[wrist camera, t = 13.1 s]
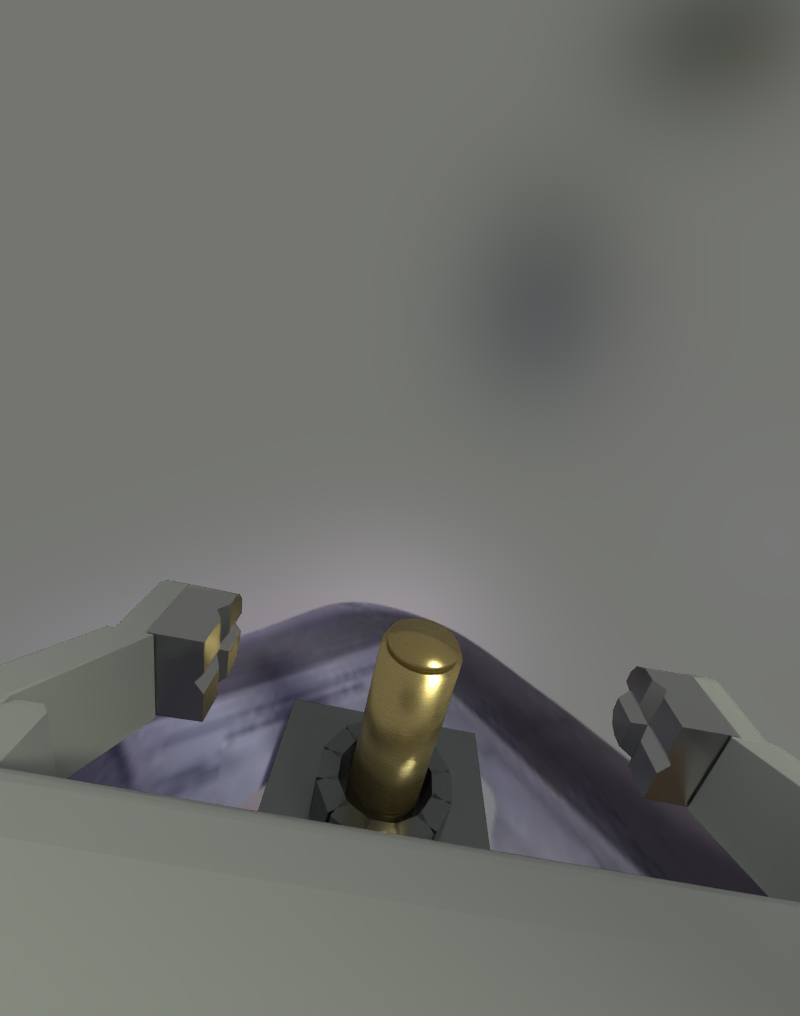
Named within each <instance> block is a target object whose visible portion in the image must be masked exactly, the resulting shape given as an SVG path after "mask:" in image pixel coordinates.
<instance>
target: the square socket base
mask: <svg viewBox="0 0 800 1016" xmlns="http://www.w3.org/2000/svg"><path fill="white" fill-rule="evenodd" d="M363 715H364V712H360V711H355V710H349V709H344V708H339V707H334V706H329V705H323V704H318V703H313V702H308V701H303V700H298V699H295V701H294V704H293V707H292V710H291V713H290V716H289V719H288V722H287V725H286V728H285V731H284V734H283V737H282V740H281V743H280V746H279V749H278V752H277V755H276V758H275V761H274V764H273V767H272V770H271V773H270V776H269V779H268V782H267V785H266V788H265V791H264V794H263V797H262V800H261V803H260V806H259V809H258V811H260V812H266V813H272V814H278V815H284V816H290V817H296V818H302V819H308V820H314V821H320V822H326V823H332V824H338V825H343V826H349V827H355V828H361V829H367V830H373V831H379V832H385V833H391V834H397V835H403V836H409V837H415V838H421V839H427V840H433V841H439V842H445V843H451V844H457V845H463V846H469V847H475V848H481V849H486V850H490V846H489V838H488V831H487V823H486V816H485V808H484V801H483V793H482V786H481V778H480V770H479V763H478V755H477V748H476V740H475V734H474V733H469V732H464V731H458V730H453V729H448V728H443V727H441V729H440V733H439V736H438V739H437V742H436V745H435V748H434V751H433V754H432V757H431V760H430V763H429V766H428V769H427V772H426V775H425V778H424V781H423V785H422V788H421V791H420V794H419V797H418V800H417V803H416V806H415V809H414V812H413V815H412V818H410V819H407V820H405V821H402V822H400V823H397V824H394V823H389V822H383V821H378V820H372V819H368V818H367V817H366V816H365V815H363V814H362V813H361V812H360V811H359V810H357V809H356V808H355V807H354V806H352V805H351V804H350V803H349V802H347V800H346V797H345V795H344V794H345V790H346V786H347V782H348V778H349V774H350V769H351V765H352V761H353V757H354V753H355V749H356V744H357V740H358V736H359V732H360V728H361V724H362V719H363Z"/></svg>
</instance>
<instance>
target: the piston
mask: <svg viewBox="0 0 800 1016" xmlns="http://www.w3.org/2000/svg"><path fill="white" fill-rule="evenodd" d="M462 661H463V657H462V653H461V650H460V645H459V642H458V640H457V639H456V637H455V636H454V635H453V634H452V633H451V632H450V631H449V630H448V629H446V628H445V627H443V626H442V625H440V624H438V623H435V622H433V621H430V620H426V619H421V618H406V619H402V620H399V621H397V622H395V623H394V624H393V625H392V626H391V627H390V628H389V629H388V630H387V631H386V632H385V633H384V634H383V637H382V640H381V644H380V649H379V653H378V657H377V661H376V665H375V669H374V674H373V678H372V682H371V686H370V690H369V694H368V699H367V703H366V707H365V711H364V715H363V719H362V724H361V728H360V732H359V736H358V740H357V744H356V749H355V753H354V757H353V761H352V765H351V769H350V774H349V778H348V782H347V786H346V790H345V794H344V795H345V797H346V800H347V802H349V803H350V804H351V805H352V806H354V807H355V808H356V809H357V810H359V811H360V812H361V813H362V814H363V815H365V816H366V817H367V818H368V819H372V820H378V821H383V822H389V823H394V824H397V823H400V822H402V821H405V820H407V819H410V818H412V815H413V812H414V809H415V806H416V803H417V800H418V797H419V794H420V791H421V788H422V785H423V781H424V778H425V775H426V772H427V769H428V766H429V763H430V760H431V757H432V754H433V751H434V748H435V745H436V742H437V739H438V736H439V733H440V729H441V726H442V723H443V720H444V717H445V714H446V711H447V708H448V705H449V702H450V699H451V696H452V693H453V690H454V687H455V684H456V681H457V677H458V674H459V671H460V668H461V665H462Z"/></svg>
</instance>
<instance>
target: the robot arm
mask: <svg viewBox="0 0 800 1016" xmlns="http://www.w3.org/2000/svg"><path fill="white" fill-rule="evenodd" d="M241 613H242V598H241V596H240V594H236V593H231V592H226V591H221V590H216V589H211V588H206V587H201V586H196V585H190V584H186V583H180V582H175V581H169V580H166V581H162V582H160V583H159V584H158V585H157V586H156V587H155V588H154V589H153V590H152V591H151V592H150V593H149V594H148V595H147V596H146V597H145V598H144V599H143V600H142V601H141V602H140V603H139V604H138V605H137V606H136V607H135V608H134V609H133V610H132V611H131V612H130V613H129V614H128V615H127V616H126V617H125V618H124V619H123V620H122V621H121V622H120V623H119V624H118V625H117V626H116V627H115V628H114V627H108V626H106V627H103V628H101V629H98V630H95V631H92V632H90V633H87V634H84V635H81V636H79V637H76V638H73V639H70V640H68V641H65V642H62V643H59V644H57V645H54V646H51V647H49V648H45V649H43V650H40V651H37V652H35V653H32V654H29V655H26V656H23V657H21V658H18V659H15V660H12V661H10V662H7V663H4V664H2V665H0V1016H800V761H799V760H797V759H796V758H794V757H793V756H792V755H790V754H788V753H787V752H785V751H784V750H783V749H781V748H780V747H778V746H777V745H775V744H770V743H767V742H766V741H765V739H764V738H763V737H762V736H761V734H760V733H759V732H758V731H757V730H756V728H755V727H754V726H753V725H752V724H751V722H750V721H749V720H748V718H747V717H746V716H745V715H744V714H743V712H742V711H741V710H740V709H739V707H738V706H737V705H736V704H735V702H734V701H733V700H732V699H731V698H730V697H729V695H728V694H727V693H726V691H725V690H724V689H723V688H722V687H721V685H720V684H719V683H718V682H717V681H715V680H713V679H711V678H710V677H703V676H696V675H690V674H678V673H673V672H667V671H661V670H655V669H649V668H644V667H638V666H637V667H636V668H635V669H633V670H632V671H631V673H630V675H629V677H628V679H627V685H628V687H629V690H630V691H628V692H627V693H625V694H624V695H622V696H621V697H619V698H618V700H617V702H616V705H615V707H614V710H613V721H612V725H613V730H614V735H615V737H616V740H617V742H618V744H619V746H620V747H621V748H622V749H623V750H624V751H625V752H626V753H627V754H628V755H629V756H631V760H630V763H629V768H630V771H631V773H632V775H633V777H634V779H635V781H636V784H637V786H638V788H639V790H640V792H641V794H642V797H643V798H646V799H651V800H656V801H661V802H666V803H671V804H676V805H681V806H685V807H688V808H687V810H688V811H689V812H690V813H691V814H692V815H693V816H694V817H695V818H696V819H697V820H698V821H699V822H700V824H701V825H702V826H703V827H704V828H705V829H706V830H707V831H708V832H709V833H710V834H711V835H712V836H713V837H714V839H715V840H716V841H717V842H718V843H719V844H720V845H721V846H722V847H723V848H724V849H725V850H726V851H727V853H728V854H729V855H730V856H731V857H732V858H733V859H734V860H735V861H736V862H737V863H738V864H739V865H740V867H741V868H742V869H743V870H744V871H745V872H746V873H747V874H748V875H749V876H750V877H751V878H752V879H753V880H754V882H755V883H756V884H757V885H758V886H759V887H760V888H761V889H762V890H763V891H764V892H765V893H766V894H767V896H768V897H765V896H759V895H754V894H748V893H742V892H736V891H730V890H724V889H718V888H712V887H706V886H700V885H694V884H688V883H682V882H676V881H670V880H664V879H658V878H653V877H647V876H641V875H635V874H629V873H623V872H617V871H611V870H605V869H599V868H593V867H587V866H582V865H576V864H570V863H564V862H558V861H552V860H546V859H540V858H534V857H528V856H522V855H516V854H510V853H504V852H498V851H492V850H486V849H481V848H475V847H469V846H463V845H457V844H451V843H445V842H439V841H433V840H427V839H421V838H415V837H409V836H403V835H397V834H391V833H385V832H379V831H373V830H367V829H361V828H355V827H349V826H343V825H338V824H332V823H326V822H320V821H314V820H308V819H302V818H296V817H290V816H284V815H278V814H272V813H266V812H260V811H254V810H248V809H242V808H236V807H230V806H224V805H218V804H213V803H207V802H201V801H195V800H189V799H183V798H177V797H171V796H165V795H159V794H153V793H147V792H141V791H135V790H129V789H123V788H117V787H111V786H105V785H99V784H94V783H88V782H82V781H76V780H70V779H66V778H68V777H69V776H71V775H72V774H74V773H75V772H77V771H78V770H80V769H81V768H83V767H84V766H86V765H87V764H88V763H90V762H91V761H93V760H94V759H96V758H97V757H99V756H100V755H102V754H103V753H105V752H106V751H108V750H109V749H110V748H112V747H113V746H115V745H116V744H118V743H119V742H121V741H122V740H124V739H125V738H127V737H128V736H130V735H131V734H132V733H134V732H135V731H137V730H138V729H140V728H141V727H143V726H144V725H146V724H147V723H149V722H150V721H152V720H153V719H154V718H155V715H158V716H165V717H172V718H179V719H186V720H193V721H200V722H203V720H204V718H205V717H206V715H207V713H208V711H209V709H210V708H211V706H212V704H213V702H214V700H215V699H216V697H217V695H218V682H220V681H221V680H223V679H225V678H227V676H228V675H229V673H230V671H231V669H232V667H233V664H234V661H235V658H236V655H237V652H238V647H239V642H240V629H239V628H238V626H237V625H236V621H237V619H238V618H239V616H240V614H241Z"/></svg>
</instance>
